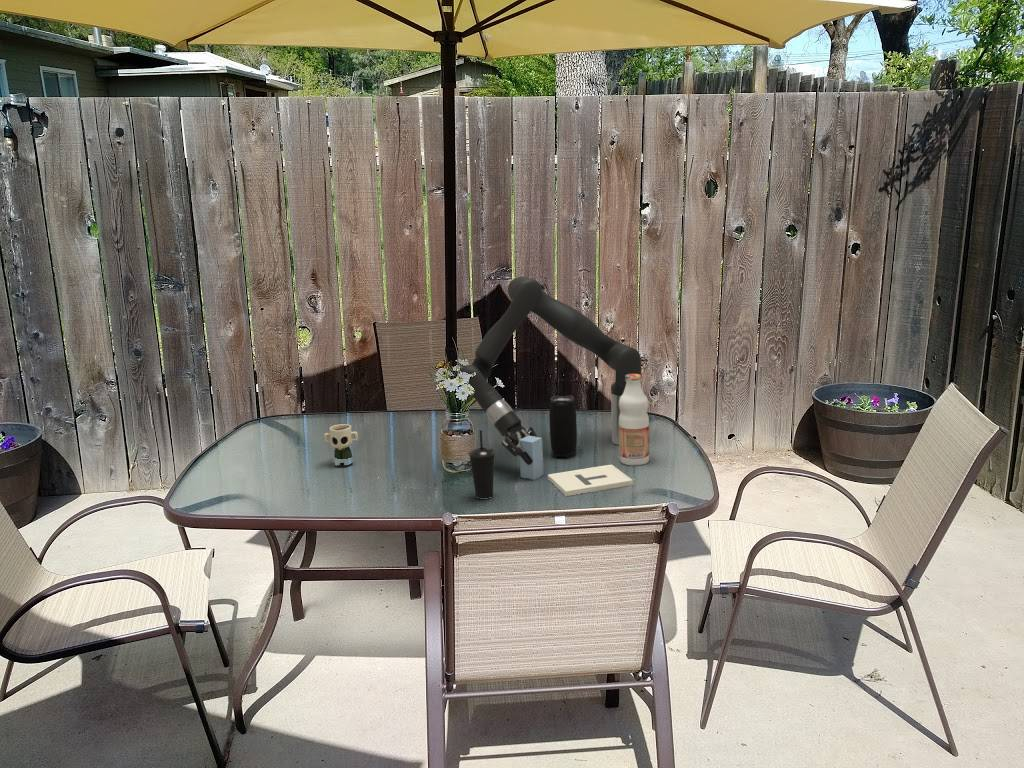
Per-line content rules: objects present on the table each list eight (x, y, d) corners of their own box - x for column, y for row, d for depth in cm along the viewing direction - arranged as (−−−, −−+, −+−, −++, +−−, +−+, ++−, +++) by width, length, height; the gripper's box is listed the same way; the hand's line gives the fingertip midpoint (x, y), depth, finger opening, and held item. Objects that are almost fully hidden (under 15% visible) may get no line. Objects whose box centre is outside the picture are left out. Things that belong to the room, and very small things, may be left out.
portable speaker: (578, 450, 270) (576, 393, 266) (575, 460, 262) (574, 401, 257) (552, 450, 272) (550, 393, 267) (549, 459, 263) (547, 401, 258)
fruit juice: (613, 460, 259) (611, 375, 252) (635, 454, 264) (634, 370, 257) (633, 468, 252) (631, 380, 245) (655, 461, 257) (655, 375, 250)
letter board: (611, 468, 252) (611, 464, 252) (632, 485, 238) (632, 480, 238) (547, 479, 246) (547, 474, 246) (566, 496, 232) (565, 491, 232)
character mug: (325, 469, 265) (321, 431, 261) (329, 462, 272) (325, 424, 268) (358, 467, 265) (354, 429, 261) (362, 460, 271) (358, 423, 268)
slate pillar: (530, 472, 253) (528, 435, 250) (543, 475, 250) (541, 437, 247) (520, 477, 249) (518, 439, 246) (534, 480, 246) (532, 442, 243)
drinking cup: (474, 503, 230) (470, 436, 225) (468, 494, 237) (464, 428, 233) (500, 499, 232) (497, 432, 227) (494, 490, 239) (490, 425, 234)
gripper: (495, 416, 243) (529, 460, 239) (523, 404, 254) (556, 447, 250) (482, 430, 248) (515, 474, 243) (510, 418, 259) (543, 460, 254)
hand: (536, 460), depth 247 cm, fingers closed on slate pillar, 5 cm apart
